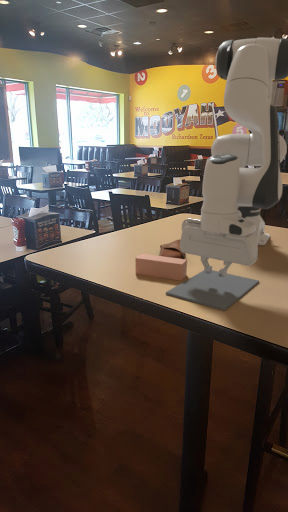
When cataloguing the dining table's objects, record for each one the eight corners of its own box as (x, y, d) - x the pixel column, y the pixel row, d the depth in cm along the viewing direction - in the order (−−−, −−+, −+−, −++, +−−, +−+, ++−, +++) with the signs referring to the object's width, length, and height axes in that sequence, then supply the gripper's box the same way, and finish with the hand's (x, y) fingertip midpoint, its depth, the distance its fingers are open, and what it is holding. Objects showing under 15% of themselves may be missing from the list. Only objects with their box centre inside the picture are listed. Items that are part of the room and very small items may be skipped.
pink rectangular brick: (141, 269, 114) (141, 253, 113) (186, 276, 109) (187, 259, 107) (135, 274, 110) (135, 257, 109) (181, 281, 105) (182, 264, 103)
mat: (206, 270, 112) (206, 268, 112) (258, 282, 103) (259, 280, 103) (165, 294, 95) (165, 292, 95) (224, 310, 86) (224, 308, 86)
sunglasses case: (158, 244, 133) (171, 230, 131) (173, 257, 134) (186, 243, 132) (156, 260, 116) (171, 244, 114) (174, 274, 117) (188, 259, 115)
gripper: (176, 219, 98) (174, 269, 102) (253, 230, 86) (247, 287, 90) (188, 215, 102) (186, 263, 107) (262, 225, 91) (257, 279, 95)
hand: (215, 274), depth 98 cm, fingers open, 3 cm apart
